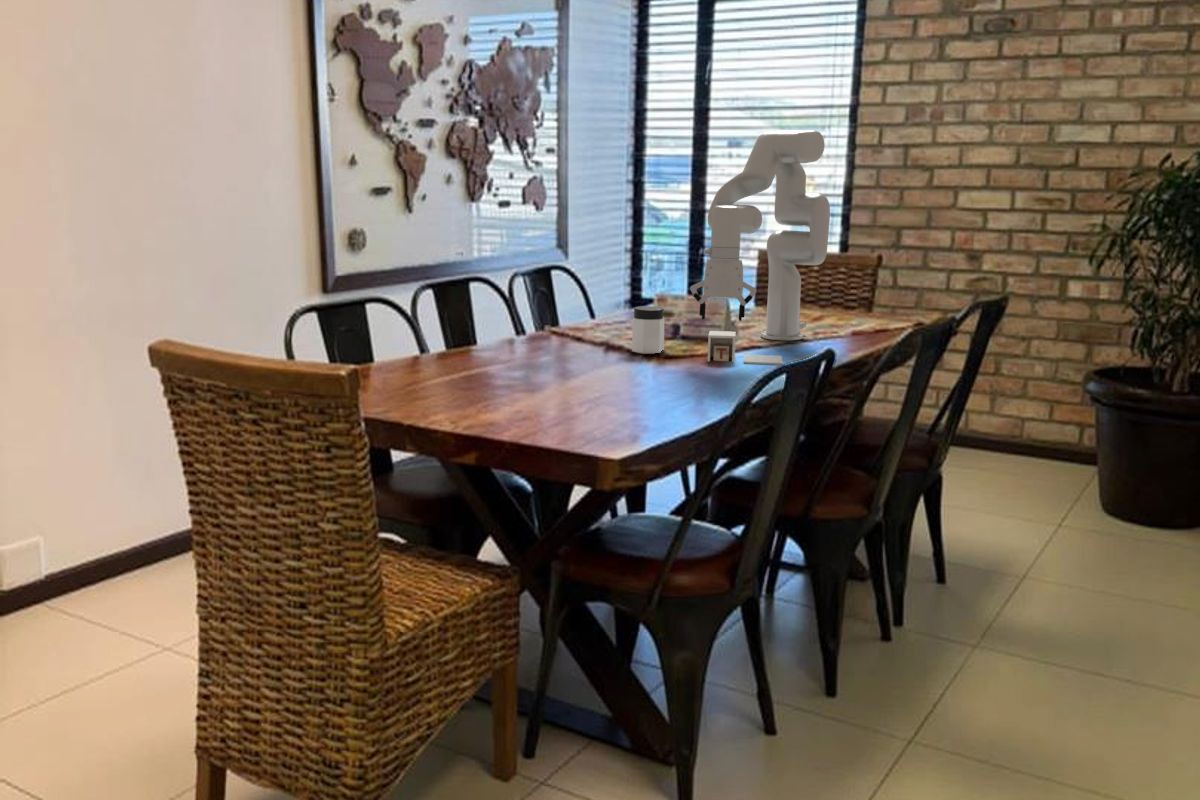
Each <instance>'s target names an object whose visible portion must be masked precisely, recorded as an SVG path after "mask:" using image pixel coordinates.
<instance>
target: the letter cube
mask: <svg viewBox="0 0 1200 800" xmlns="http://www.w3.org/2000/svg"><path fill="white" fill-rule="evenodd" d="M729 345H730V344H717V343H714V357H713V362H714V361H715V362H717V361H718V362H729V360H730V358H729Z"/></svg>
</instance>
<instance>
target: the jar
mask: <svg viewBox="0 0 1200 800" xmlns="http://www.w3.org/2000/svg"><path fill="white" fill-rule="evenodd" d="M664 310H665V309H664V308H663V307H660V306H653V305H651V306H650V305H648V306H647V305H645V306H643V305H642V306H636V307H634V308H633V318H632V337H631V338H632V340H631V341H632V342H631V347H632V348H631V351H632V352H633V353H636V354H637V353H638V354H642V355H645V354H646V355H648V354H649V355H651V354H652V355H653V354H654V355H655V353H659V354H660V353H662V352H663V351H662V350H665V325H666V324H665V323H666V322H665V318H666V317H664V315H665V311H664ZM661 351H662V352H661Z"/></svg>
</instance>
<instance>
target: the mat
mask: <svg viewBox="0 0 1200 800" xmlns="http://www.w3.org/2000/svg"><path fill="white" fill-rule="evenodd" d="M743 364H751V365H773V366H775V365H776V366H783V364H784V363H783V356H782V355H768V354H767V355H766V354H765V355H764V354H744V355H743Z"/></svg>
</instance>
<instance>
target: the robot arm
mask: <svg viewBox="0 0 1200 800" xmlns="http://www.w3.org/2000/svg"><path fill="white" fill-rule="evenodd" d="M823 136H824V135H822V133H821V132H820V131H818V130H789V129H788V130H787V129H786V130H785V129H784V130H774V131H765V132H763V133H761V134H760V135H759V136H758V138H757V139H756V140H755V143H754V145H753V148H752V150H751V152H750V155H749V157H748V159H747V161H746V163H745V166H744V168H743V170H742V172H740V173H738V174H736V175H735V176H733V177H732V178H731V179H730V180H728V181H727V182H725V183H724V184H723V185H722V186H721V187H720V188H719V189H718V190H717V192H716V193H715V196H714V198H713V200H712V202H711V204H710V206H709V209H708V213H707V225H708V227H709V229H710V230H711V234H710V235H711V236H710V237H711V238H710V247H709V248H704V255H709V258H707V260H706V263H705V268H704V277H703V280H701V281H699V282H696V283H695V284H693V285H691V286H690V287H689V290H690V292H691V293H692V295H693V298H694V299H695V300H696V301H697V302H698V303H699V317H701V319H702V320H705V319H706V309H707V307H706V305H707V304H706V301H707V300H708V298H710V299H737V301H739V303H740V304H739V305H738V307H739V308H738V310H739V311H738V321H739V322H742V318H745V312H746V311H745V310H746V305H748V303H750V301H752V299H754V296H755V295H756V293H757V290H758V289H757V288H755V287H754V286H752V285H750V284H748V282H745V281H744V267H743V260H742V259H740V249H741V234H742V235H751V234H754V233H756V232H757V231H759V230H760V228H761V226H762V224H763V223H762V222H763V215H762V212H761V210H760V208H758V207H757V206H754V205H750V204H736V202H738V201H741V200H743V199H744V198H748V197H750V196H754V195H756V194H759V193H761V192H764V191H766V190H768V189H769V188H771V186H772V185H773V181H774V180H775V181H776V182H775V195H774V196H775V198H774V219H775V221H776V223H777V224H779V225H781V226H789V227H790V226H791V227H807V228H808V229H809V231H800V230H784V229H783V230H777V231H774V232H773V233H771V234H770V235H769V236H768V238H767V241H766V254H767V260H768V262H767V263H768V284H767V286H768V287H767V302H766V303H767V304H766V305H767V306H766V326H765V327H766V329H765V330H764V331H761V332H760V337H761V338H763V339H766V340H771V341H784V342H785V341H798V340H802V339H803V338H804V333H802V332H800V331H801V330H802V329H803V330H804V329H806V327H807V323H806V321H802V322H801V321H800V310H801V309H800V308H801V307H800V306H801V292H802V291H801V289H802V288H801V287H802V277H801V274H800V271H799V269H798V268H797V266H796V265H801V266H818V265H821V264H823V263H824V261H825V260H826V257H827V254H828V245H829V244H828V243H829V234H830V221H831V220H830V219H831V218H830V217H831V207H830V202H829V199H828V198H827V196H825V195H824V194H822V193H816V192H815V193H814V192H812V193H811V192H807V191H806V185H807V174H806V171H805V169H804V167H803V166H802V164H808V163H815V162H818V161H819V160H820V159H821V157H822V156H823V154H824V151H825V145H826V144H825V139H824V137H823ZM702 287H703V289H702V290H703V295H702V296H701V295H700V294H699V293H698V290H697V289H700V288H702ZM743 289H746V290H748V291H749V294H748V295H747V296H746V297H743V292H744V290H743Z"/></svg>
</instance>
